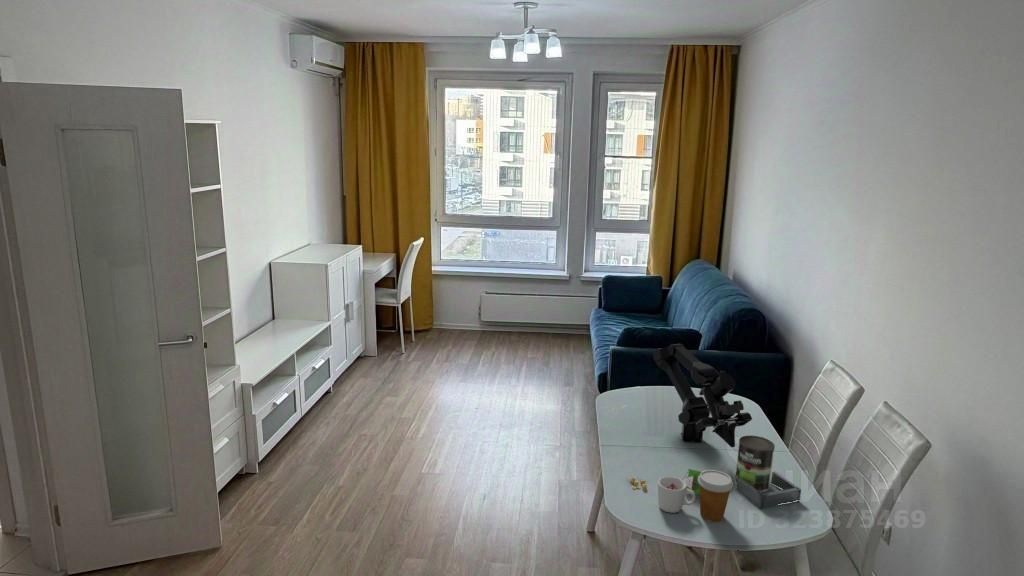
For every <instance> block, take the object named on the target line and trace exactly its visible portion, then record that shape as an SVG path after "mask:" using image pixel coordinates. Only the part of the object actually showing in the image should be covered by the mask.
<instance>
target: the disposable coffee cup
mask: <svg viewBox="0 0 1024 576" xmlns="http://www.w3.org/2000/svg"><path fill="white" fill-rule="evenodd" d="M700 472H701V473H700V476H698V483H699V491H700V492H699V493H700V495H699V512H700V513H699V514H700V517H701V518H702V519H704V520H706V521H708V522H714V523H715V522H716V523H717V522H721V521H722V520H723V519H724V515H725V513H726V508H727V504H728V500H729V497H730V496H729V495H730V492H731V490H732V488H733V485H734V483H733V481H732V478H731V476H730V475H729V474H727V473H725V472H724V471H720V470H715V469H706V470H703V471H700Z"/></svg>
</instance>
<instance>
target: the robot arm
mask: <svg viewBox="0 0 1024 576" xmlns="http://www.w3.org/2000/svg"><path fill="white" fill-rule="evenodd" d="M652 357H653V358H652V359H653V360H654V362H655V364H656V365H657V366H658V368H660V369H661V370H663V371H664V372H666V374H667V375H668V377H669V379H670V382H671V383H672V385H673V387H674V389H675V390H676V392H677V394H678V396H679V398H680V400H681V401H682V408H681V411H682V412H680V413H678V416H677V417H678V421H679V423H680V424H682V425H681V426H682V428H681V432H680V436H681V439H682V442H684V443H685V442H686V443H699V444H700V443H701V444H702V439H703V438H704V437H703V436H704V435H703V434H704V432H705V431H706V429H707V428H710V427H713V430H711V432H712V433H715V434H716V435H718V436H719V437H720V438H721V439H722V440H723V441H724V442H725V443H726V444H727V445H728V446H729V447H730V448H735V447H736V439H735V438H736V437H735V436H736V435H735V432H736V428H737V427H742V426H745V425H746V424H748V423H749V422H751V421H753V417H752V415H751V413H749V412H747V411H746V412H741V411H744V409H745V408H744V403H743V401H742V400H734V401H733V403H732V404H730V403H729V401H728V400H725V399H724V397H725V396H726V395H728V394H729V393H730V392H731V391H733V390H734V389H735V388H736V386H737V385H736V384H737V381H736V380H735V378H734V377H733V376H731V374H729V373H727V371H726V370H721V371H719V372H718V371H717V369H716V368H714V367H713V366H711V365H710V364H707V363H704V362H702V361H701V360H699V359H698V358H697V357H696V356H695V355H694V354H692V353H691V351H689V350H688V349H687V348H686V347H685V345H684V344H682V343H672V344H670V345H668V346H665V347H662V348H656V349H655V351H653V356H652ZM679 363H680V364H682V366H684V368H685V369H687V370H688V372H690V378H691V379H692V380H693V382H694V383H695V384H696V385H697V386H702V387H700V391H699V396H696V394H695V393H694V391H693V389H692V388H691V385H690V384H689V382H688V380H687V378H686V377H685V375H684V373H683V371H682V369H681V367H680V366H679ZM704 385H705V386H704ZM703 386H704V387H703ZM710 415H711V416H710Z"/></svg>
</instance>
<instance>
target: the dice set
mask: <svg viewBox="0 0 1024 576" xmlns="http://www.w3.org/2000/svg"><path fill="white" fill-rule="evenodd" d="M629 481H630V484H634V486H631V489H632V490H636V489H637V488H638V490H640V489H641V491H644V492H646V491H647V490H648V485H647V484H646V480H645V479H641V480H640V484H641V485H642V486H641V485H640V486H639V480H636V478H635V477H630V480H629Z"/></svg>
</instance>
